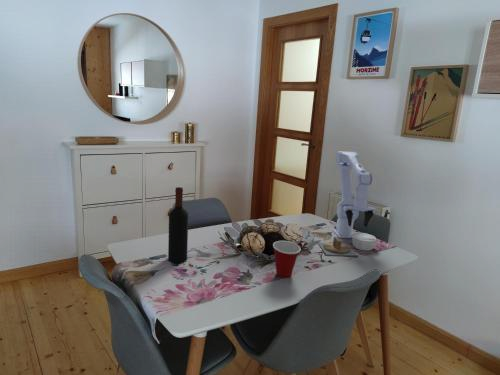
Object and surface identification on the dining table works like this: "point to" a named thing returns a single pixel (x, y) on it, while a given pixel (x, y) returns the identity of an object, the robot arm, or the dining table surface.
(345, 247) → the lid
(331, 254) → the mat
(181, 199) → the wine bottle
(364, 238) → the ramekin
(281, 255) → the plastic cup
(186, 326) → the dining table surface
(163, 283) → the dining table surface
